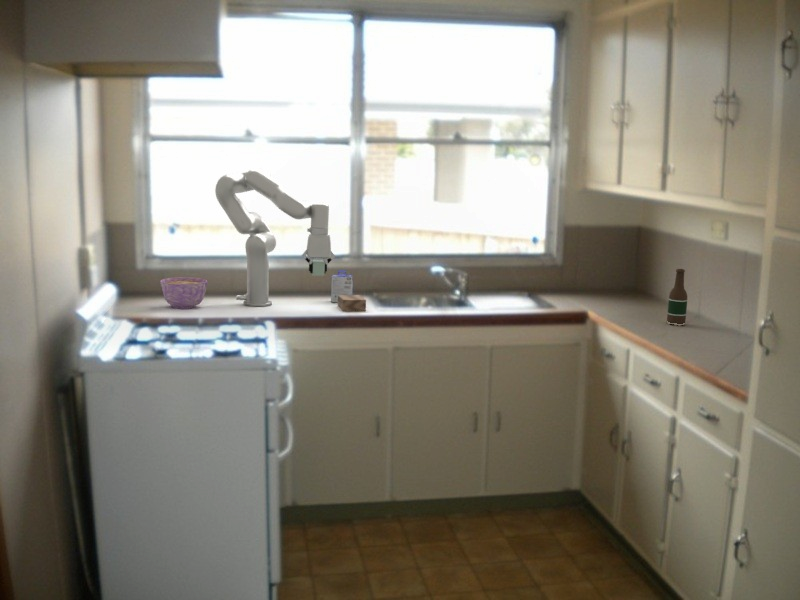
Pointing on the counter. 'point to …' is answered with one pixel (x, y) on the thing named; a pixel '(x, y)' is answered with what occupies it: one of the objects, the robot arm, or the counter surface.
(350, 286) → the ink cartridge box
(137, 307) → the counter surface
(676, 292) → the beer bottle
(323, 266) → the pale green block
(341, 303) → the brown wooden block
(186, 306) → the bowl of food
